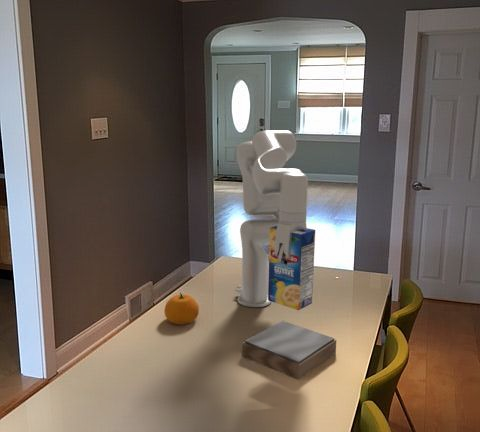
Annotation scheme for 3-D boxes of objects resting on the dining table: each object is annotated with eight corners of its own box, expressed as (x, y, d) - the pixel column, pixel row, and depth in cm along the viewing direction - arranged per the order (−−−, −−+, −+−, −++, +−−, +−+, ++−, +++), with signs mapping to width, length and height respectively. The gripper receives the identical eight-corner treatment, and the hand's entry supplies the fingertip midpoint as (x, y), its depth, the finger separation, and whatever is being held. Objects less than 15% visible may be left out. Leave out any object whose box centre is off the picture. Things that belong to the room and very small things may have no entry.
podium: (242, 356, 152) (242, 340, 151) (281, 334, 167) (281, 319, 166) (298, 379, 140) (299, 363, 138) (335, 353, 155) (336, 338, 153)
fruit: (165, 329, 170) (165, 300, 168) (163, 314, 181) (163, 288, 179) (201, 326, 172) (200, 298, 170) (196, 312, 183) (196, 286, 181)
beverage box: (298, 310, 144) (301, 234, 139) (267, 300, 151) (269, 227, 146) (312, 303, 149) (315, 229, 144) (281, 294, 156) (283, 223, 151)
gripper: (297, 210, 152) (295, 269, 156) (265, 219, 141) (263, 283, 145) (319, 214, 148) (316, 275, 152) (287, 223, 136) (285, 289, 140)
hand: (290, 278), depth 148 cm, fingers closed on beverage box
